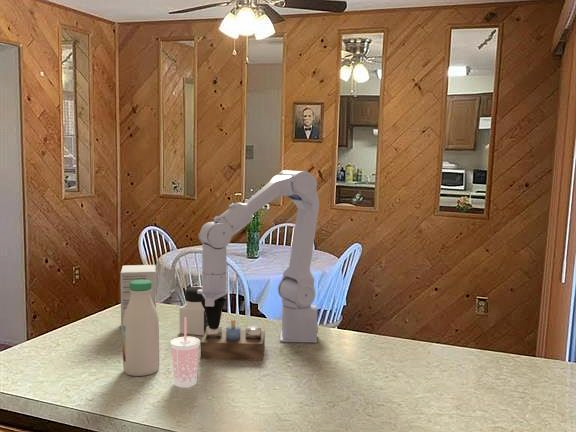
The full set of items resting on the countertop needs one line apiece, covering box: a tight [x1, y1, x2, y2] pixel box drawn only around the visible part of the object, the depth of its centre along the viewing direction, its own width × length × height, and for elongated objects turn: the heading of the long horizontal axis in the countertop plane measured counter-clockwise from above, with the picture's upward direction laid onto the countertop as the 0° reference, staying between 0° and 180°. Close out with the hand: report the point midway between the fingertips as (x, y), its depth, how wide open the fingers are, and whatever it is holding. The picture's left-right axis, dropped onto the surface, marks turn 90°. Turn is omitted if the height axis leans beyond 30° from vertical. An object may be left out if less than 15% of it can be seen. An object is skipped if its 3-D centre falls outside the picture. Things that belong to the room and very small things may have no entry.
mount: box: [200, 329, 266, 361], centre depth 130 cm, size 14×9×4 cm, turn 89°
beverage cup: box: [170, 317, 201, 388], centre depth 111 cm, size 6×6×14 cm
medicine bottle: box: [179, 285, 209, 336], centre depth 145 cm, size 7×7×12 cm
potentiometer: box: [225, 319, 241, 340], centre depth 128 cm, size 3×3×4 cm
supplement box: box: [119, 264, 157, 335], centre depth 146 cm, size 10×9×17 cm
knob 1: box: [206, 325, 223, 339], centre depth 130 cm, size 4×4×6 cm
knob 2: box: [245, 325, 262, 340], centre depth 129 cm, size 4×4×6 cm
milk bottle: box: [122, 280, 160, 377], centre depth 117 cm, size 8×8×20 cm
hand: (214, 327), depth 129 cm, fingers closed, pressing on knob 1
